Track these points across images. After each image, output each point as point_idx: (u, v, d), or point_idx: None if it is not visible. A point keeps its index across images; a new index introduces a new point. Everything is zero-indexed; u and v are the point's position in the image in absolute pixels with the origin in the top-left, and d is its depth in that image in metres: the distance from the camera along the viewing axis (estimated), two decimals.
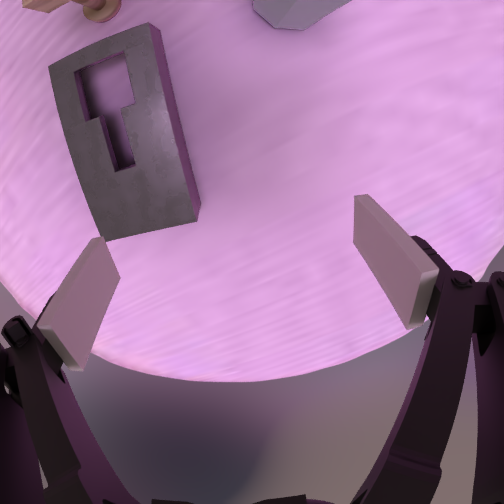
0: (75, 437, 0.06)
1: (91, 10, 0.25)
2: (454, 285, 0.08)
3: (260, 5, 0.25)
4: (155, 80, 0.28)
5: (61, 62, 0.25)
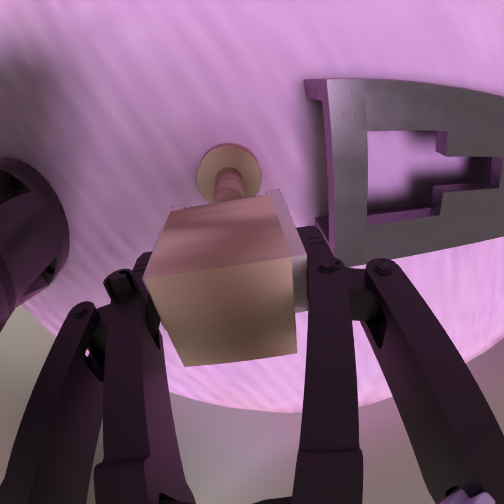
0: (153, 417, 0.06)
1: None
2: (321, 272, 0.10)
3: None
4: (427, 91, 0.16)
5: (340, 245, 0.22)
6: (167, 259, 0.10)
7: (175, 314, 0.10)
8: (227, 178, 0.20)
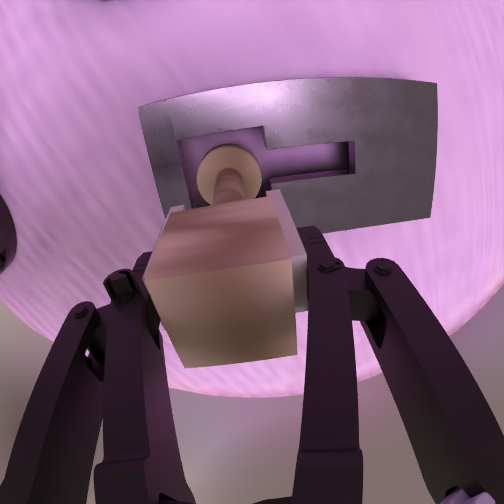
0: (153, 417, 0.06)
1: None
2: (321, 272, 0.10)
3: None
4: (233, 93, 0.21)
5: None
6: (167, 261, 0.10)
7: (175, 316, 0.10)
8: (227, 178, 0.20)
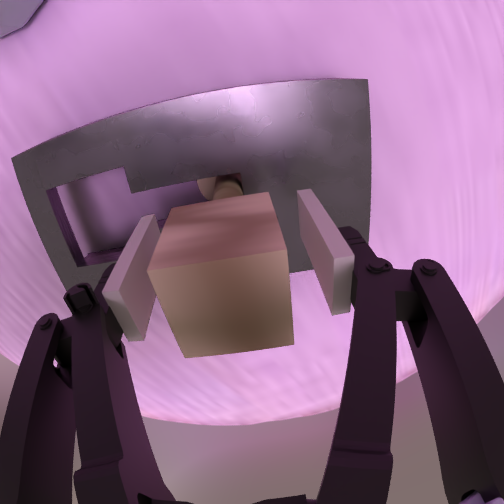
0: (123, 421, 0.06)
1: None
2: (370, 272, 0.09)
3: (1, 16, 0.10)
4: (87, 133, 0.17)
5: (66, 283, 0.23)
6: (169, 252, 0.10)
7: (176, 305, 0.10)
8: (227, 176, 0.20)
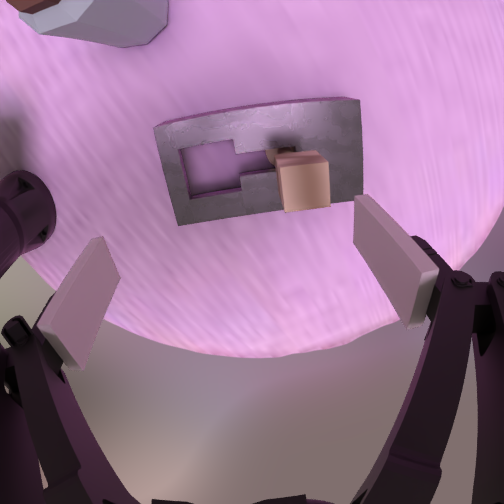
0: (75, 437, 0.06)
1: None
2: (454, 285, 0.08)
3: (142, 35, 0.28)
4: (212, 119, 0.34)
5: (177, 211, 0.40)
6: (285, 164, 0.27)
7: (287, 183, 0.27)
8: (286, 149, 0.37)
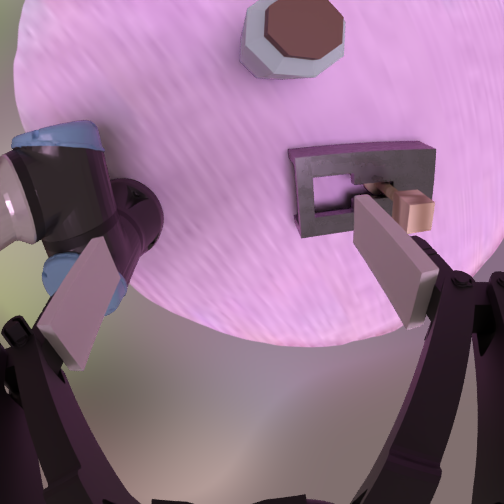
0: (75, 437, 0.06)
1: None
2: (454, 285, 0.08)
3: None
4: (342, 156, 0.44)
5: (303, 226, 0.50)
6: (410, 202, 0.37)
7: (412, 215, 0.37)
8: None
